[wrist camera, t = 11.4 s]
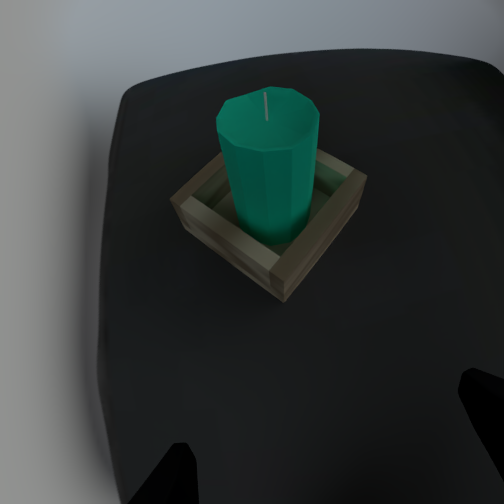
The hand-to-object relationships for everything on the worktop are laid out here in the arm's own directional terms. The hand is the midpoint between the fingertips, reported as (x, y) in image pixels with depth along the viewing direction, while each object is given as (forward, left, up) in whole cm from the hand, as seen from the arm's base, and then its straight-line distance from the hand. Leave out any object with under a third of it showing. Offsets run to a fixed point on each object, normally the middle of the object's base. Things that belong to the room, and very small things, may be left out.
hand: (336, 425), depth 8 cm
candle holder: (+12, -11, -13) cm, 21 cm away
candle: (+11, -11, -13) cm, 20 cm away
